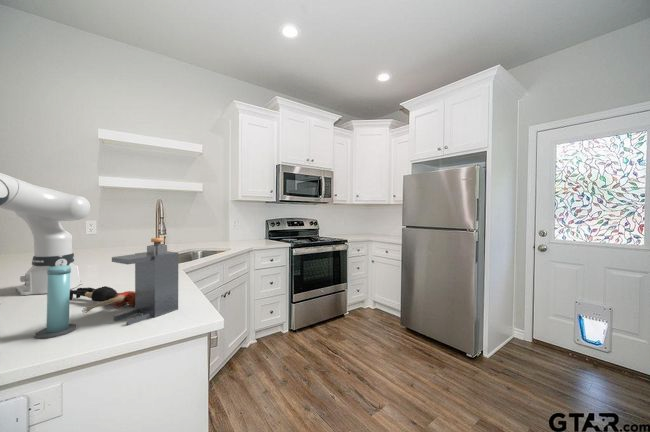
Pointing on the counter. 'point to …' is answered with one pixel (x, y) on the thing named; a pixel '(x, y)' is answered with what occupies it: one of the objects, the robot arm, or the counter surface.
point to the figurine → (104, 296)
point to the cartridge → (58, 298)
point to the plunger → (157, 241)
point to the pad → (44, 335)
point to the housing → (152, 283)
